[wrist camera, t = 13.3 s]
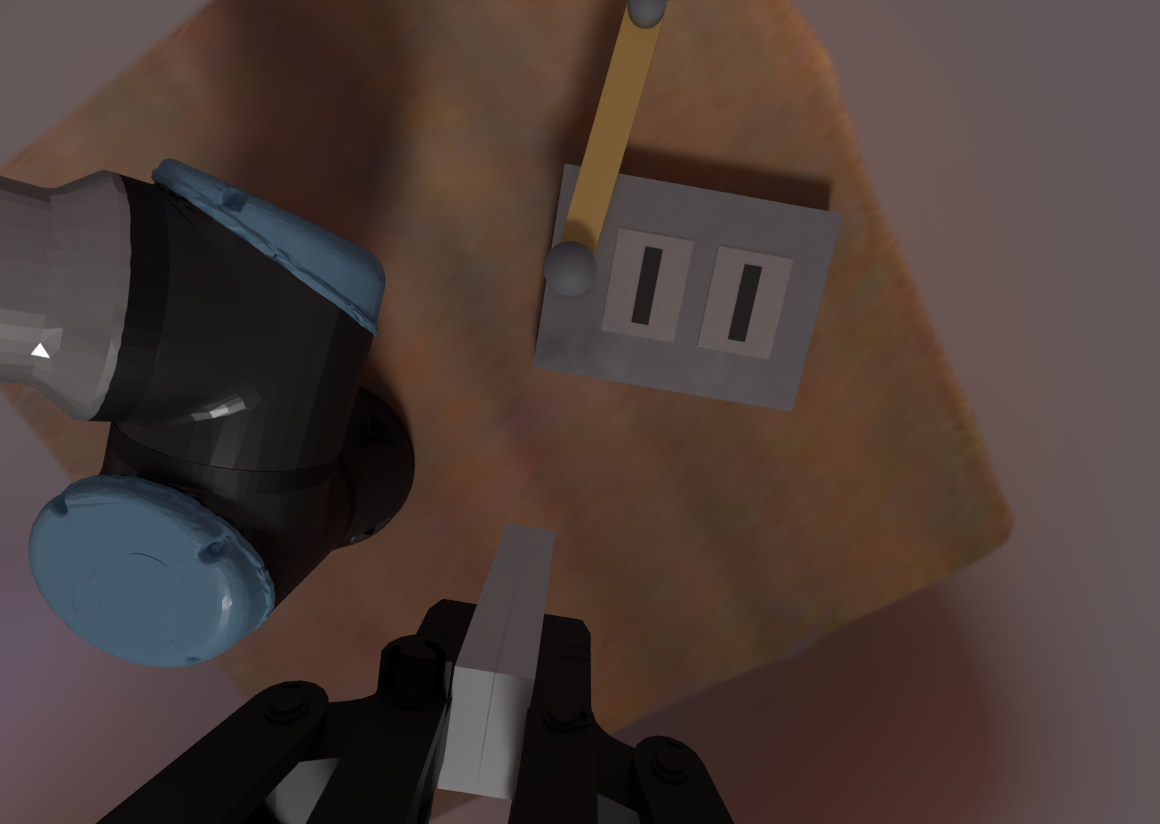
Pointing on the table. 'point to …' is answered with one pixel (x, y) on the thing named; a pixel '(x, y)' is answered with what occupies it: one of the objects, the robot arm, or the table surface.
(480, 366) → the table surface
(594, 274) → the yellow wooden bar
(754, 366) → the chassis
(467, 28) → the table surface
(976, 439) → the table surface
